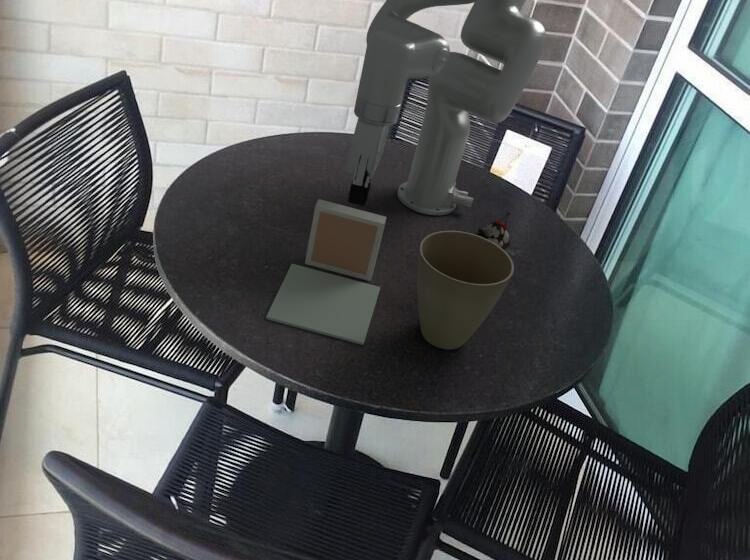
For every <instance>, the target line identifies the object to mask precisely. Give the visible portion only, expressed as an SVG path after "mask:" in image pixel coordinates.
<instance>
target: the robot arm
mask: <svg viewBox="0 0 750 560" xmlns="http://www.w3.org/2000/svg"><path fill="white" fill-rule="evenodd" d="M525 2H526V0H385V2H384V3H383V4H382V6H381V7H380V9H379V10H378V11H377V13H376V14H375V16H374V18H373V19H372V20H371V23H370V25H369V26H368V29H367V32H366V49H365V54H364V58H363V64H362V69H361V74H360V78H359V79H360V80H359V83H358V89H357V92H356V93H357V94H356V98H355V104H354V109H353V113H354V115H355V117H356V118H357V122H356V123H355V124H356V125H355V128H354V133H353V135H352V142H351V145H350V148H349V153H348V158H347V161H346V165H345V166H346V167H345V172H346V173H347V174H349V173H350V174H352V173H353V178H352V181H351V184H350V189H349V193H348V198H347V202H348V203H350V204H354V205H357V206H361V207H365V206H366V204H367V202H368V198H369V193H370V189H371V185H372V183H371V180H372V179H373V177H374V175H375V172H376V170H377V168H378V166H379V164H380V162H381V158H382V155H383V152H384V149H385V144H386V142H387V137H388V133H389V130H390V129H389V128H390V126H393V125H395V124H397V123H398V121H399V118H400V113H401V108H402V104H403V100H404V96H405V91H406V88H407V82H408V80H410V79H428V85H427V86H428V88H427V99H426V105H425V106H426V107H425V112H424V116H423V120H422V124H421V127H420V132H419V136H418V140H417V144H416V147H415V151H414V155H413V159H412V163H411V167H410V171H409V175H408V179H407V181H405V182H402V183H401V184H400V185H399V187H398V189H397V193H396V194H397V198H398V200H399V201H400V202H401V203H402V204H403V205H404V206H406V207H407V208H408V209H410V210H413V211H415V212H417V213H420V214H423V215H429V216H444V215H449V214H450V213H452V212H454V211H455V209H456V205H457V204H460V205H462V206H466V207H470V208H471V207H472V204H473V200H474V197H472V196H471V197H470V196H468V194H469V192H468V191H464V190H460V189H458V188H457V187H456V185H457V181H456V180H457V177H458V173H459V171H460V170H459V169H460V166H461V162H462V159H463V156H464V153H465V149H466V146H467V141H468V140H469V139H468V138H469V135H470V131H471V120H470V119H471V118H470V115H474V116H475V117H477V118H479V119H482V120H484V121H487V122H490V123H493V124H497V123H498V124H500V123H501V122H503V121H505V120H506V119H507V118H508V116H510V114H511V112H512V111H513V109H514V108H515V105H516V104H517V103H518V101H519V98H520V96H521V95H522V93H523V90H524V89H525V87H526V85H527V84H528V81H529V79H530V78H531V76H532V74H533V72H534V69H535V68H536V66H537V65H538V63H539V60H540V58H541V56H542V54H543V51H544V48H545V45H546V39H547V37H546V36H547V34H546V29H545V26H544V25H543V24H542V23H541V22H540V21H538V20H536V19H535V18H533V17H531V16H528V15H525V14H522V13H521V11H522V8H524V5H525ZM470 4H473V5H472V7H470V10H469V12H468V13H467V16H466V18H465V20H464V23H463V26H462V27H461V31H460V40H461V42H462V44H463V45H464V46H465V47H466V48H468V49H469V50H471V51H473V52H475V53H477V54H479V55H480V56H483V57H486V58H488V59H491V60H493V61H496V62H498V63H500V64H502V65H503V66H502V69H500V68H497V67H495V66H493V65H490V64H488V63H485V62H484V61H481V60H479V59H478V58H474V57H472V56H470V55H467V54H464V53H461V52H458V51H457V52H456V51H451V49H450V44H449V43H448V41H447V40H446V38H445V37H443V36H442V35H441V34H439V33H437V32H435V31H433V30H431V29H428V28H427V27H424V26H421V25H420V24H417V23H415V22H412V21H410V20H408V19H409V18H411V17H412V15H414V14H416V13H417V12H420V11H422V10H425V9H429V8H433V7H447V6H449V7H450V6H461V5H463V6H464V5H470ZM469 114H470V115H469Z"/></svg>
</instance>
